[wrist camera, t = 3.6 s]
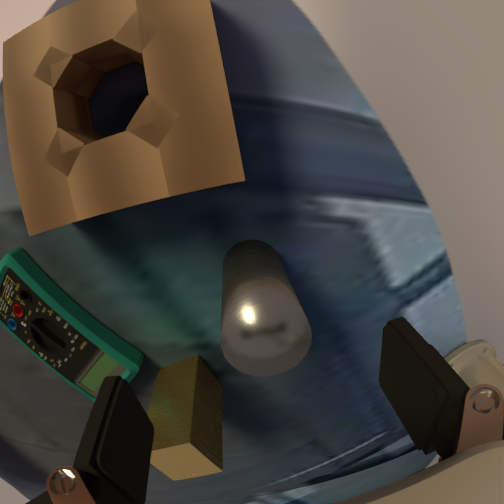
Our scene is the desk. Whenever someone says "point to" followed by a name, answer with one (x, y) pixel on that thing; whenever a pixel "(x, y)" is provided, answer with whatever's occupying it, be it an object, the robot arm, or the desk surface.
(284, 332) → the cylinder
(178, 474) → the square bit
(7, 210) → the desk surface
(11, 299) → the digital multimeter
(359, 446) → the desk surface
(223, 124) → the bore block
